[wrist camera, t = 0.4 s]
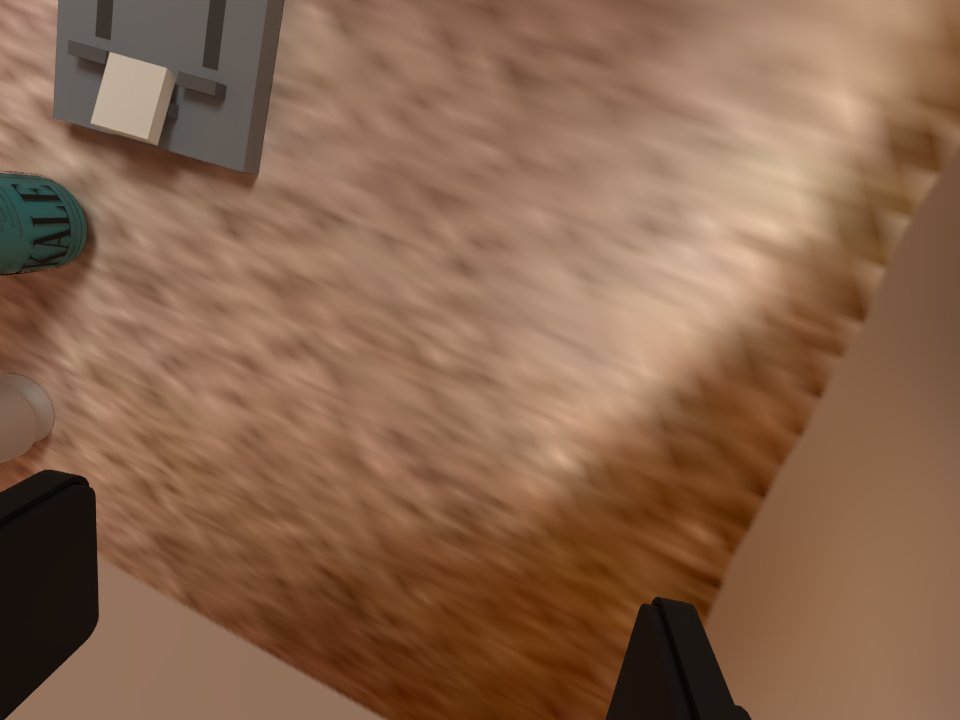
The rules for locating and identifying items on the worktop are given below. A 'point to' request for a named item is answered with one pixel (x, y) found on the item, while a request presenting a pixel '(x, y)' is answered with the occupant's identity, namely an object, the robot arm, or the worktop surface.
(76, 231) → the beverage bottle
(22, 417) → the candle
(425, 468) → the worktop surface
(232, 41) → the panel
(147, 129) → the block
